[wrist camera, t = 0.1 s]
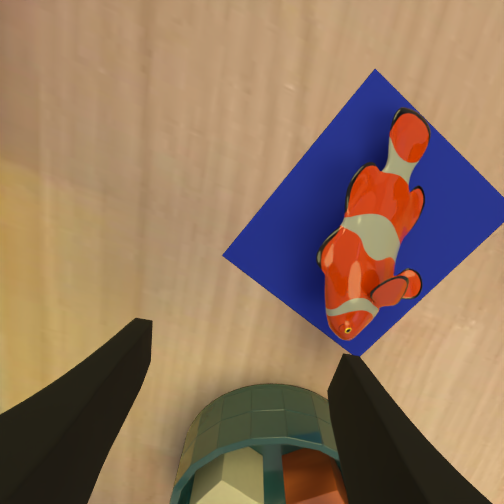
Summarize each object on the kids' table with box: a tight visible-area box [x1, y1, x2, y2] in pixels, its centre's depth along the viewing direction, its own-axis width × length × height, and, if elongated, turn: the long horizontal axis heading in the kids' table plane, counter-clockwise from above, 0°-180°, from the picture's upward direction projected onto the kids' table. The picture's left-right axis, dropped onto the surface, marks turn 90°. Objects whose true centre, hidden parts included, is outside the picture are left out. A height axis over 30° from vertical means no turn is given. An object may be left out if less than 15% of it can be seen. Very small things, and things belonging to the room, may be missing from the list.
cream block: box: [189, 447, 264, 504], centre depth 24 cm, size 4×4×4 cm
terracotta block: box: [282, 448, 349, 504], centre depth 24 cm, size 4×4×4 cm
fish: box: [315, 106, 432, 342], centre depth 18 cm, size 13×5×8 cm
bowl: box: [169, 384, 346, 504], centre depth 24 cm, size 15×15×5 cm
